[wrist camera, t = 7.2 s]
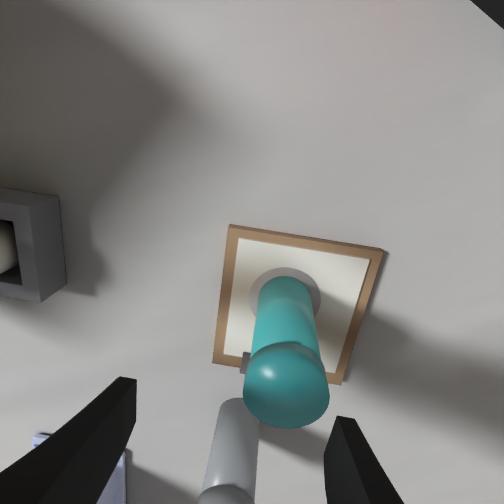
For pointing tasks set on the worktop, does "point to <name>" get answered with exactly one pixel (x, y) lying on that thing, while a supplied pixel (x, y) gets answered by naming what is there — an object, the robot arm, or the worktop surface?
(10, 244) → the button
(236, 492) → the cylinder
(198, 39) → the worktop surface
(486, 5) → the cleaning product box
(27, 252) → the button housing
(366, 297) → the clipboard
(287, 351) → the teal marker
